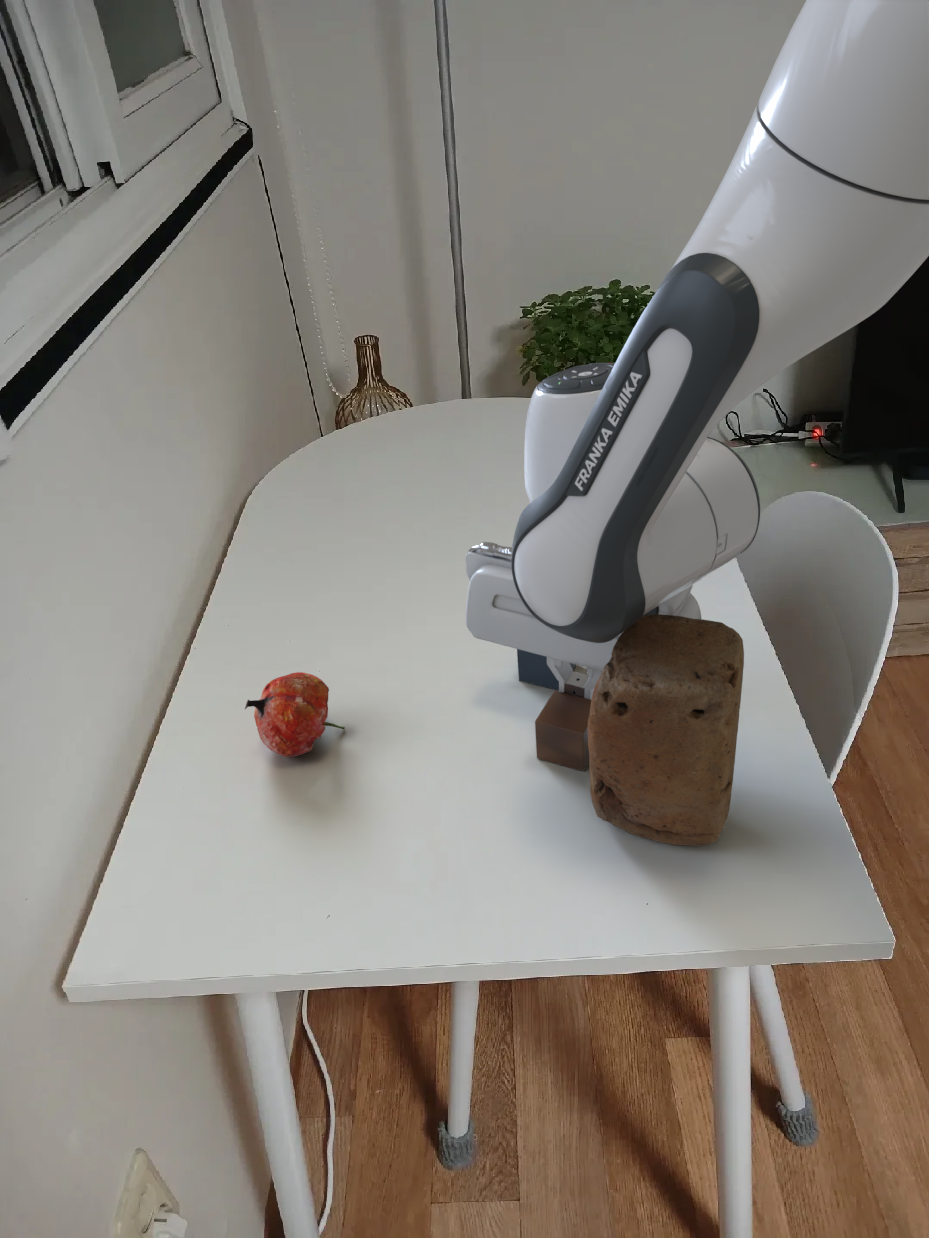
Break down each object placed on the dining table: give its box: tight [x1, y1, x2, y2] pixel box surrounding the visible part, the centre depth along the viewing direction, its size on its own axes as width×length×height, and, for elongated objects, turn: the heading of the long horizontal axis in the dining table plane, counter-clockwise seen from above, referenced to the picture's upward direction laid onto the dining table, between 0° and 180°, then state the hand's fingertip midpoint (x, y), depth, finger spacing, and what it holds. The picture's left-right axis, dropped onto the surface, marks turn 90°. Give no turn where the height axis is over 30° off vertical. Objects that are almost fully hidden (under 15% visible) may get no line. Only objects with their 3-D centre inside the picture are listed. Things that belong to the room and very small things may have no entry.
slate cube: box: [516, 649, 577, 691], centre depth 92 cm, size 4×4×4 cm
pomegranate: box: [244, 671, 346, 758], centre depth 86 cm, size 7×7×10 cm
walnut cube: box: [534, 690, 591, 772], centre depth 83 cm, size 4×4×4 cm
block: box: [588, 614, 745, 847], centre depth 69 cm, size 11×8×20 cm
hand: (577, 694), depth 84 cm, fingers closed, pressing on walnut cube
